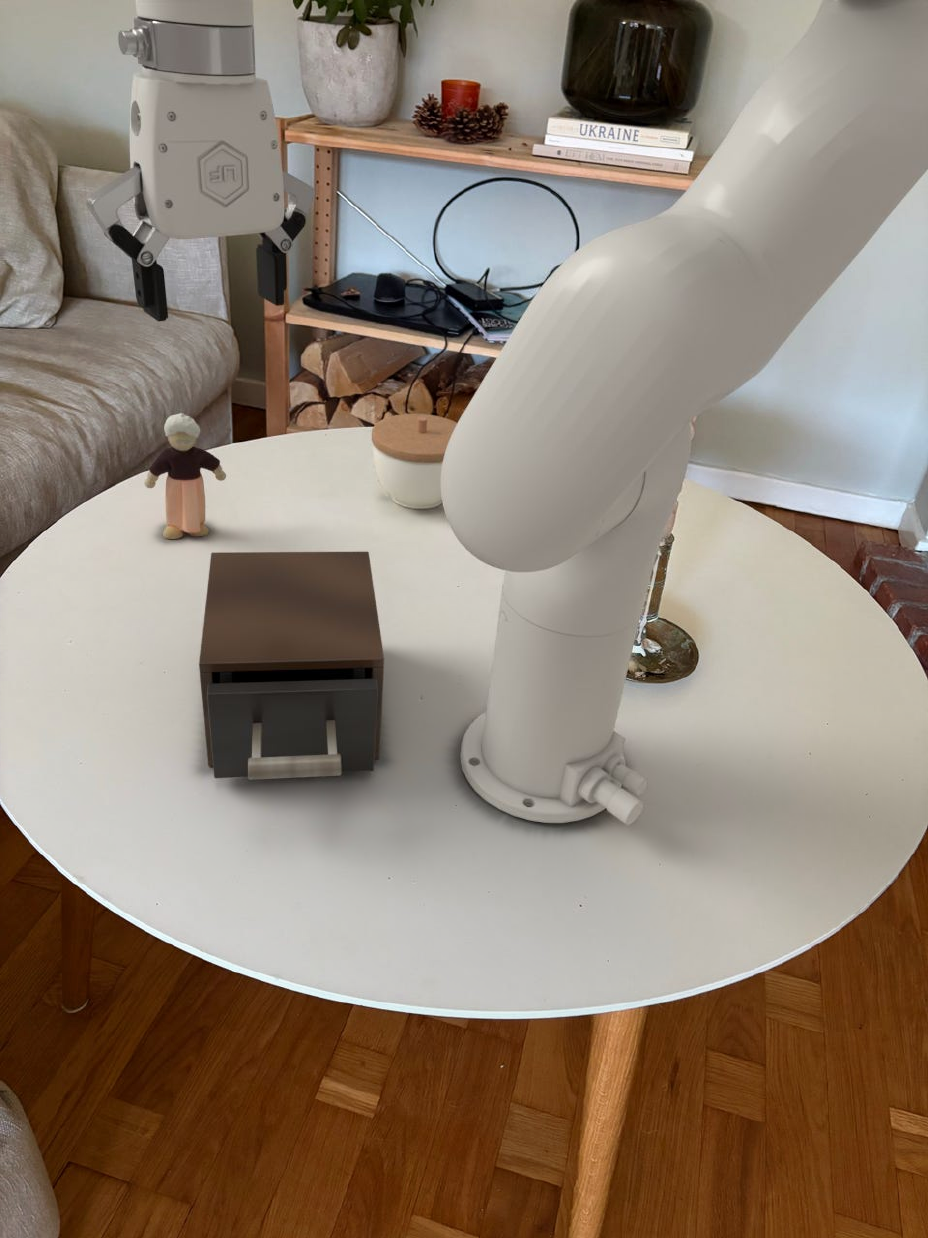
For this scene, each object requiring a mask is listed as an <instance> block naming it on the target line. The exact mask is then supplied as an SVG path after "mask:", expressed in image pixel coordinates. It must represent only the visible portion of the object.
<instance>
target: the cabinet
mask: <svg viewBox="0 0 928 1238" xmlns="http://www.w3.org/2000/svg"><path fill="white" fill-rule="evenodd" d="M209 560H210V561H209V569H208V579H207V588H206V597H205V605H204V606H205V607H204V615H203V623H202V634H201V642H200V652H199V659H198V668H199V681H200V692H201V702H202V704H201V705H202V713H203V714H202V715H203V725H204V737H205V747H206V757H207V766H208V767H213V759H212V747H211V735H210V724H209V712H208V700H207V689H208V684H211V683H220V672H233V671H269V670H305V669H341V668H365V679H376V680H377V687H378V694H377V716H376V738H375V760H379V759H380V754H381V753H380V752H381V751H380V750H381V730H382V713H383V712H382V710H383V693H384V692H383V689H384V673H385V671H384V669H385V667H384V666H385V655H384V648H383V642H382V634H381V628H380V620H379V614H378V608H377V601H376V600H377V599H376V594H375V587H374V586H375V585H374V580H373V579H374V578H373V572H372V565H371V559H370V553H369V551H248V552H247V551H242V552H241V551H239V552H238V551H237V552H236V551H235V552H228V551H227V552H223V551H221V552H214V551H213V552H211V553H210V559H209Z"/></svg>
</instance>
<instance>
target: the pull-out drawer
mask: <svg viewBox="0 0 928 1238" xmlns="http://www.w3.org/2000/svg"><path fill="white" fill-rule="evenodd" d="M377 694H378V687H377V680H376V679H365V668H341V669H305V670H269V671H233V672H220V683H211V684H208V689H207V700H208V712H209V724H210V735H211V747H212V759H213V766H212V768H213V769H212V770H213V778H214V779H229V778H230V779H232V778H248V780H249V781H250V780H270V779H273V780H274V779H290V778H291V779H292V778H294V779H295V778H313V777H333V776H334V777H335V776H336V777H337V776H341V775H342V773H356V772H357V773H358V772H359V773H361V772H374V771H375V760H376V759H375V738H376V716H377Z"/></svg>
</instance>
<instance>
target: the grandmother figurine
mask: <svg viewBox="0 0 928 1238" xmlns="http://www.w3.org/2000/svg"><path fill="white" fill-rule="evenodd" d="M163 430H164V433H165V437H167V439H168V443H169V445H170V446H171V447H167V448H165V449H163V450H162V451H161V453H160V454H159V455H158V456H157V457H156V459H155V460H154V461H153V463H152V464H151V466H149V469H148V473H147V475H146V479H145V481H144V486H145V487H146V488H148V489H153V488H155V486H156V483H157V481H158V480H159V478H160V476H161V475H164V474H167V476H166V481H165V492H164V493H165V496H164V497H165V499H164V500H165V520H166V521H165V523H166V525H167V526H166V527H165V528H164V530H163V533H162V537H163V538H164V539H167V540H177V539H180V538H182V537H183V536H184V533H188V534H189V535H190V536H192V537H204V536H207V535H208V534H209V532H210V530H209V527H207V525H206V524H205V522H206V492H205V483H204V477H203V475H202V472H201V469H204V470H207V471H210V472H212V474H214V476H215V479H216V480H218V481H219V482H223V481H225V480H226V478H227V473H226V472H225V471H224V469H223V467H222V465H221V460H220V459H219V458H217V457H216V456H215V455H213V454H212V453H210V452H209V451H207V450H204V449H203V448H199V447H196V446H194V445H195V444H196V441H197V439H198V438H199V436H200V434H201V427H200V425H199V424H198V423H197V422H196V421H195V419H194V418H192V417H191V416H190V415H187V414H184V413H183V412H181V413H176V414H171V415H170V416H168V417H167V419H166V420H165V422H164V428H163Z"/></svg>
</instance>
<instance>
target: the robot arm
mask: <svg viewBox="0 0 928 1238" xmlns="http://www.w3.org/2000/svg"><path fill="white" fill-rule="evenodd" d="M134 1H135V13H136V16H137V17H136V18H134V19H133V21H134V22H133V24H134V28H130V29H129V30H120V31H118V37H117V40H118V41H117V42H118V48H119V50H120V53H121V54H122V55H126V56H133V57H134V58H137V63H138V64H139V65H141V72H134V73H133V77H132V85H131V95H130V106H129V107H130V109H129V111H130V112H129V164H130V165H129V167H130V168H129V169H128V170H127V171H125V172H123V173H122V174H121V175H119V176H118V177H116V178H114V179H113V180H111V181H110V182H109V183H107V184H105V185H104V186H102V187H101V188H99V189H98V190H96V191H95V192H93V193H92V194H90V195H88V197H87V198H86V200H85V204H86V207H87V209H88V210H89V212H90V214H91V215H92V217H93V218H94V220H95V221H96V223H97V224H98V226H99V227H100V228H101V230H102V231H103V232H102V233H103V234H104V236H105V237H106V238H107V239H108V240H109V241H110V242H112V243H113V244H114V245H115V246H116V247H118V248H119V249H120V251H122V252H123V253H124V254H125V255H126V256H127V257H129V258H130V259H131V265H132V266H131V267H132V273H133V274H132V275H133V282H134V291H135V299H136V303H137V304H138V306H139V307H140V308H142V310H143V312H144V313H146V315H149V316H150V317H151V318H152V319H153V320H155V321H157V322H158V323H159V322H166V321H167V319H169V310H168V299H167V290H166V279H165V270H164V267H163V266H162V265H160V264H158V262H157V259H158V257H159V255H160V254H161V252H162V251H163V249H164V248H165V246H166V245H167V243H168V241H169V240H170V239H175V240H194V239H195V240H196V239H208V238H218V237H219V238H220V237H221V238H222V237H231V236H242V235H244V236H245V235H252V234H257V235H258V237H259V238H260V239H261V244H257V247H256V248H255V249H256V250H255V254H256V256H255V257H256V276H257V277H256V280H257V294H258V296H259V297H261V298H262V299H264V300H266V301H268V302H269V303H271V304H273V305H274V306H276V307H280V306H284V305H285V291H286V290H287V287H288V276H287V272H288V269H287V253H289V252H291V251H292V249H293V247H294V246H293V245H294V243H293V242H294V240H295V239H296V238H297V236H298V235H299V234H300V233H301V231H303V229H304V228H305V226H306V223H307V219H306V217H307V215H309V212H310V211H311V207H312V205H313V203H314V201H315V197H316V190H315V189H316V188H315V187H313V186H311V185H309V184H308V183H306V182H304V181H303V180H301V179H299V178H297V177H296V176H294V175H292V173H291V174H290V173H289V172H287V171H285V170H284V169H283V165H282V156H281V155H282V154H281V147H280V139H279V131H278V125H277V120H276V115H275V110H274V104H273V100H272V96H271V95H272V94H271V90H270V86H269V84H268V83H269V82H268V80H267V79H263V78H261V77H257V76H256V75H257V73H256V51H255V50H256V49H255V48H256V46H255V43H256V42H255V26H254V22H255V19H254V0H134ZM927 171H928V0H821V3H820V5H819V8H818V9H817V12H816V14H815V17H814V19H813V21H812V22H811V24H810V25H809V27H808V29H807V30H806V32H805V33H804V34H803V36H802V37H801V38H800V39H799V41H798V42H797V43H796V45H794V47H793V48H792V49H791V50H790V51H789V53H788V54H787V55H786V56H785V57H784V58H783V59H782V60H781V62H780V63H779V64H778V65H777V66H776V67H775V68H774V70H773V71H772V72H771V73H770V74H769V75H768V76H767V77H766V78H765V80H764V81H763V82H762V83H761V85H760V86H759V87H758V88H757V90H756V91H755V92H754V94H753V95H752V96H751V97H750V98H749V100H748V101H747V103H746V104H745V105H744V107H743V108H742V110H741V111H740V113H739V115H738V116H737V118H736V120H735V121H734V122H733V125H732V126H731V128H730V129H729V131H728V133H727V134H726V136H725V137H724V138H723V141H722V142H721V143H720V145H719V146H718V148H717V149H716V150H715V152H714V153H713V154H712V156H711V158H710V159H709V160H708V161H707V163H706V164H705V166H704V167H703V169H702V170H701V171H700V173H699V174H698V175H697V176H696V178H695V179H694V180H693V182H692V183H691V184H690V186H689V187H687V189H686V191H684V192H683V194H682V195H681V196H680V197H679V198H678V199H677V201H676V202H675V203H674V204H673V205H672V206H670V208H668V209H666V210H664V211H662V212H661V213H659V214H657V215H655V216H653V217H651V218H649V219H646V220H645V219H644V220H642V221H638V222H635V223H632V224H628V225H624V226H621V227H618V228H617V229H612V230H611V231H609V232H606V233H603V234H602V235H600V236H598V237H595V238H593V239H592V240H590V241H589V242H588V243H586V244H584V245H583V246H580V247H579V248H578V249H577V250H576V251H575V252H573V253H572V254H571V255H569V256H568V258H567V259H565V260H564V261H563V262H562V263H561V264H560V265H559V266H558V267H557V268H556V270H554V272H553V273H551V275H550V276H549V277H548V278H547V280H545V282H544V283H543V285H542V286H541V287H540V288H539V289H538V290H537V292H536V294H535V295H534V296H533V298H532V300H531V301H530V303H529V304H528V306H527V308H526V309H525V311H524V312H523V314H522V316H520V319H519V321H518V322H517V324H516V325H515V327H514V328H513V330H512V332H511V333H510V336H509V337H508V339H507V340H506V342H505V343H504V345H503V347H502V348H501V350H500V352H499V353H498V355H497V357H496V359H495V360H494V361H493V364H492V365H491V367H490V368H489V370H488V372H487V373H486V375H485V376H484V378H483V380H482V381H481V383H480V384H479V387H478V388H477V390H476V391H475V392H474V394H473V396H472V398H471V400H470V401H469V403H468V405H467V406H466V408H465V409H464V411H463V413H462V414H461V416H460V418H459V419H458V422H457V425H456V427H455V429H454V431H453V433H452V435H451V437H450V440H449V442H448V445H447V448H446V451H445V455H444V458H443V463H442V469H441V496H442V502H443V503H442V507H443V510H444V514H445V517H446V520H447V523H448V524H449V527H450V529H451V531H452V532H453V534H454V536H455V538H456V539H457V540H458V542H459V543H460V544H461V545H462V546H463V547H464V549H465V550H466V551H467V552H468V553H469V554H471V556H473V557H474V558H476V559H477V560H479V561H480V562H482V563H484V564H486V565H488V566H490V567H492V568H496V569H499V570H503V571H504V574H503V575H504V576H503V584H502V587H501V595H500V603H499V610H498V618H497V625H496V631H495V632H496V633H495V640H494V648H493V655H492V664H491V671H490V679H489V685H488V686H489V687H488V693H487V702H486V710H485V711H484V712H482V713H481V714H480V715H478V716H477V717H476V718H475V719H473V721H472V722H471V723H470V724H469V725H468V727H467V728H466V730H465V732H464V734H463V737H462V740H461V745H460V755H459V756H460V765H461V770H462V772H463V774H464V777H465V779H466V781H467V782H468V784H469V785H470V786H471V787H472V789H473V790H474V792H475V793H477V794H478V795H479V796H480V797H481V798H482V799H483V800H484V801H486V802H487V803H489V804H491V806H493V807H495V808H496V809H498V810H499V811H502V812H504V813H507V814H508V815H511V816H513V817H517V818H520V819H524V820H527V821H531V822H537V823H544V824H565V823H570V822H571V823H573V822H579V821H581V820H585V819H587V818H591V817H593V816H595V815H597V814H599V813H601V812H603V811H604V810H605V809H606V811H607V812H608V813H609V814H611V815H612V816H613V817H615V818H616V819H618V820H619V821H621V822H622V823H624V824H625V825H626V826H630V825H632V824H634V822H635V821H636V820H637V819H638V818H639V816H640V815H641V813H642V811H643V809H644V802H643V801H642V800H640V799H639V798H637V797H638V796H641V795H642V794H643V793H644V792H645V790H646V789H647V788H648V784H649V780H648V779H647V778H645V777H644V776H642V775H641V774H639V773H638V772H637V771H635V770H634V769H630V768H629V767H628V766H626V758H625V755H624V753H623V750H624V746H625V743H626V738H625V737H624V736H623V735H621V734H619V733H618V732H616V731H615V727H616V722H617V717H618V713H619V709H620V706H621V701H622V696H623V693H624V688H625V684H626V680H627V675H628V671H629V666H630V662H631V657H632V654H633V649H634V645H635V641H636V637H637V631H638V628H639V624H640V619H641V615H642V613H643V609H644V605H645V601H646V596H647V593H648V588H649V585H650V580H651V576H652V574H653V573H652V572H653V570H654V566H655V562H656V558H657V555H658V552H659V549H660V545H661V543H662V540H663V537H664V535H665V531H666V529H667V526H668V524H669V521H670V518H671V516H672V513H673V511H674V509H675V505H676V503H677V500H678V497H679V494H680V491H681V489H682V486H683V483H684V481H685V478H686V473H687V469H688V466H689V462H690V456H691V451H692V426H691V425H692V424H691V422H692V421H693V420H694V419H695V418H697V416H698V415H700V414H702V413H703V412H705V411H706V410H708V409H709V408H711V407H712V406H714V405H716V404H718V403H719V402H720V401H721V400H723V399H725V398H726V397H728V396H729V395H731V394H733V393H734V392H736V391H737V390H738V389H740V388H741V387H743V386H744V385H745V384H747V383H748V382H750V381H751V380H752V379H754V378H755V377H756V376H758V375H759V374H760V372H762V371H763V370H764V369H765V367H766V366H767V365H769V363H770V362H771V360H772V359H774V356H776V354H777V352H778V351H779V350H780V349H781V347H782V346H783V345H784V343H785V342H786V341H787V339H788V338H789V337H790V336H791V334H792V333H793V332H794V330H796V328H797V327H798V325H799V324H800V323H801V322H802V321H803V319H805V316H806V315H807V314H808V313H809V312H811V310H812V308H813V307H814V306H815V305H816V304H817V303H818V302H819V300H821V298H822V297H823V296H824V295H825V294H826V292H827V291H828V290H829V289H830V288H831V286H832V285H833V284H834V283H835V281H836V280H837V279H838V278H839V277H840V276H841V275H842V274H843V272H845V270H846V269H847V268H848V267H849V266H850V264H851V263H852V262H853V261H854V259H856V257H857V256H858V255H859V254H860V253H861V252H862V251H863V249H864V248H865V247H866V245H867V244H868V243H869V242H870V241H871V239H872V238H873V236H875V234H876V233H877V231H879V229H880V228H881V227H882V225H883V224H884V222H886V220H887V219H888V218H889V216H890V215H891V214H892V213H893V211H894V210H895V209H896V208H897V207H898V206H899V205H900V203H901V202H902V201H903V199H904V198H905V197H906V196H907V195H908V194H909V193H910V191H911V190H912V189H913V188H914V187H915V185H916V184H917V183H918V182H919V181H920V179H921V178H922V177H923V176H924V175H925V174H926V172H927ZM285 193H287V195H288V196H289V197H288V198H289V200H288V203H287V205H288V206H287V208H286V209H285ZM130 200H132V201H133V202H132V203H133V207H134V208H133V209H134V212H135V215H136V217H137V219H138V222H137V224H136V225H135V227H134V228H133V230H132V231H131V232H130V231H129V230H128V229H127V228H125V226H124V225H123V223H122V222H121V219H120V217H119V216H118V210H119V209H120V207H122V206H123V205H125V204H127V203H128V202H130ZM622 786H623V787H624V788H626V789H628V791H630V792H631V793H630V792H628V791H627V790H625V789H624V788H623V787H622ZM632 793H633V794H635V795H636V796H637V797H636V796H634V795H633V794H632Z"/></svg>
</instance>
